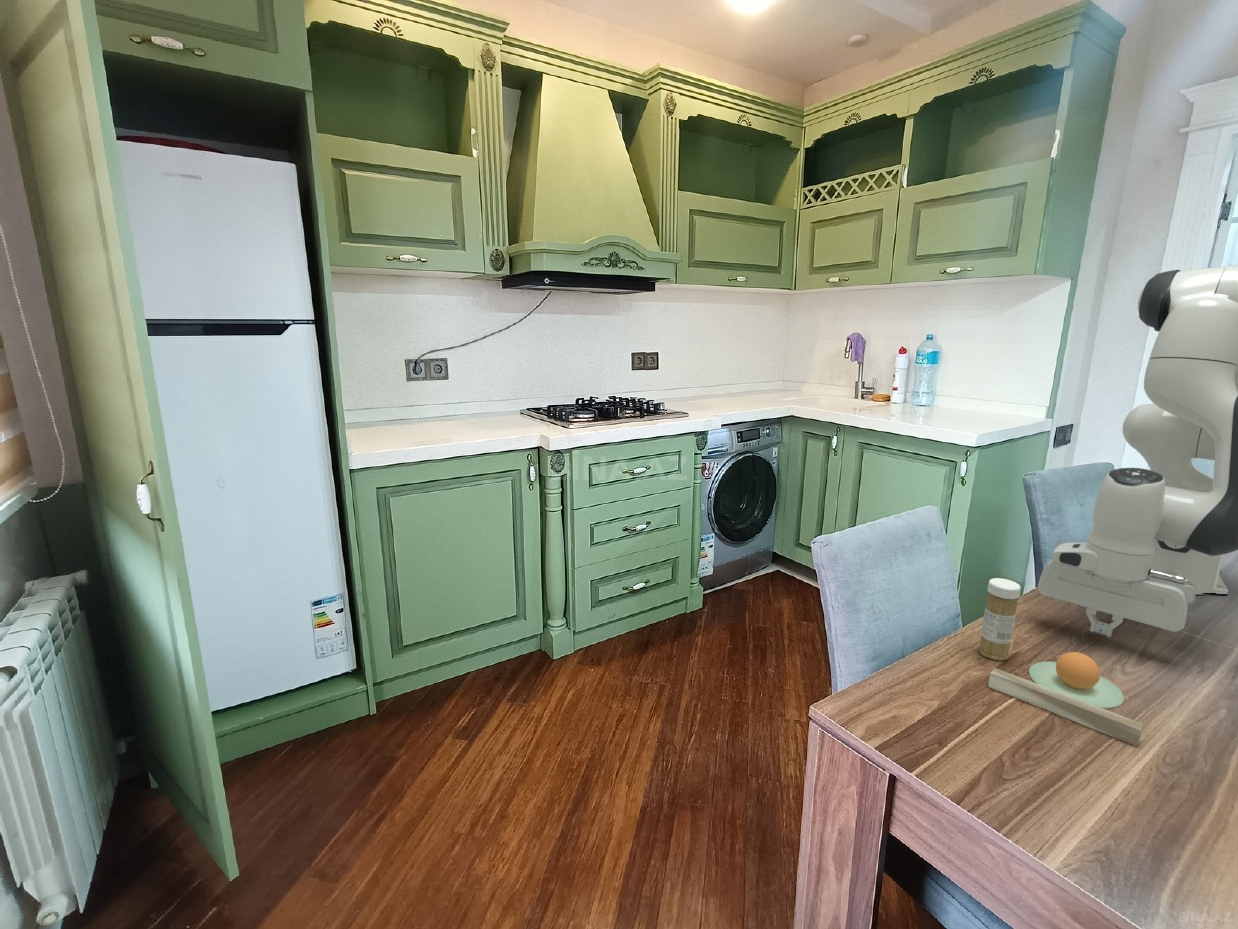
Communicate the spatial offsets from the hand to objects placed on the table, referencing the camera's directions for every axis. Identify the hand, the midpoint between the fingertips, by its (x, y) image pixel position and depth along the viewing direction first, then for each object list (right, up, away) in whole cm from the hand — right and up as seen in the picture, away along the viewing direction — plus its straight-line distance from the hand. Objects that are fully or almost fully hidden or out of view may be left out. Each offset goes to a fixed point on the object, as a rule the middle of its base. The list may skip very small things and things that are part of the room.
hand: (1100, 633), depth 105 cm
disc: (-14, -5, -12) cm, 19 cm away
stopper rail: (-21, -6, -19) cm, 29 cm away
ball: (-14, -2, -13) cm, 20 cm away
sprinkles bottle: (-22, -3, -4) cm, 22 cm away
